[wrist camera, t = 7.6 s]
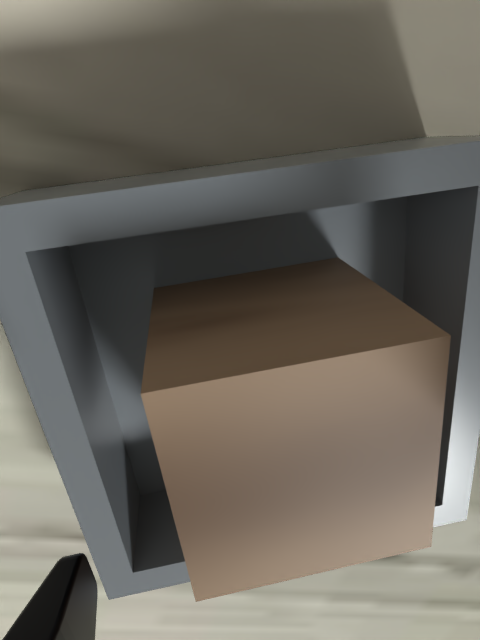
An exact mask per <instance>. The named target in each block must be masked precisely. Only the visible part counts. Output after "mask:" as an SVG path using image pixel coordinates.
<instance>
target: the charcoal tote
mask: <svg viewBox="0 0 480 640" xmlns="http://www.w3.org/2000/svg"><path fill="white" fill-rule="evenodd" d="M332 258H340V259H341V260H343V261H344V262H346V263H347V264H349V265H350V266H351V267H353V268H354V269H356V270H357V271H359V272H360V273H362V274H363V275H364V276H366V277H367V278H369V279H370V280H372V281H373V282H374V283H376V284H377V285H379V286H380V287H382V288H383V289H385V290H386V291H387V292H389V293H390V294H392V295H393V296H395V297H396V298H398V299H399V300H400V301H402V302H403V303H405V304H406V305H408V306H409V307H411V308H412V309H413V310H415V311H416V312H418V313H419V314H421V315H422V316H424V317H425V318H426V319H428V320H429V321H431V322H432V323H434V324H435V325H437V326H438V327H439V328H441V329H442V330H444V331H445V332H447V333H448V334H450V335H451V339H450V350H449V361H448V372H447V382H446V393H445V404H444V414H443V425H442V436H441V447H440V457H439V468H438V479H437V489H436V500H435V511H434V521H433V527H437V526H441V525H446V524H450V523H455V522H459V521H464V520H467V514H468V507H469V500H470V493H471V487H472V480H473V473H474V467H475V460H476V453H477V447H478V440H479V433H480V136H439V137H422V138H414V139H407V140H399V141H392V142H384V143H377V144H369V145H362V146H354V147H347V148H339V149H332V150H324V151H317V152H310V153H302V154H295V155H287V156H280V157H272V158H265V159H257V160H250V161H242V162H235V163H227V164H220V165H212V166H205V167H197V168H190V169H182V170H175V171H167V172H160V173H152V174H145V175H137V176H130V177H122V178H115V179H107V180H100V181H93V182H85V183H78V184H70V185H63V186H55V187H48V188H40V189H33V190H25V191H21V192H18V193H15V194H12V195H8V196H5V197H2V198H0V320H1V322H2V325H3V328H4V330H5V333H6V335H7V338H8V341H9V343H10V346H11V348H12V351H13V353H14V356H15V359H16V361H17V364H18V366H19V369H20V372H21V374H22V377H23V379H24V382H25V385H26V387H27V390H28V392H29V395H30V397H31V400H32V403H33V405H34V408H35V410H36V413H37V416H38V418H39V421H40V423H41V426H42V429H43V431H44V434H45V436H46V439H47V441H48V444H49V447H50V449H51V452H52V454H53V457H54V460H55V462H56V465H57V467H58V470H59V473H60V475H61V478H62V480H63V483H64V485H65V488H66V491H67V493H68V496H69V498H70V501H71V504H72V506H73V509H74V511H75V514H76V517H77V519H78V522H79V524H80V527H81V529H82V532H83V535H84V537H85V540H86V542H87V545H88V548H89V550H90V553H91V555H92V558H93V561H94V563H95V566H96V568H97V571H98V573H99V576H100V579H101V581H102V584H103V586H104V589H105V592H106V594H107V597H108V599H109V600H110V599H115V598H119V597H123V596H128V595H132V594H137V593H141V592H146V591H150V590H155V589H159V588H164V587H168V586H173V585H177V584H182V583H186V582H191V581H190V578H189V574H188V570H187V566H186V563H185V559H184V555H183V551H182V547H181V544H180V540H179V536H178V532H177V529H176V525H175V521H174V517H173V514H172V510H171V506H170V502H169V499H168V495H167V491H166V487H165V484H164V480H163V476H162V472H161V469H160V465H159V461H158V457H157V454H156V450H155V446H154V442H153V439H152V435H151V431H150V427H149V424H148V420H147V416H146V412H145V409H144V405H143V401H142V397H141V387H142V379H143V371H144V363H145V355H146V347H147V339H148V331H149V323H150V315H151V307H152V299H153V291H154V288H158V287H164V286H170V285H176V284H182V283H188V282H194V281H200V280H206V279H212V278H218V277H224V276H230V275H236V274H242V273H248V272H254V271H260V270H266V269H272V268H278V267H284V266H290V265H296V264H302V263H308V262H314V261H320V260H326V259H332Z"/></svg>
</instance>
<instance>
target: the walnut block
mask: <svg viewBox="0 0 480 640" xmlns="http://www.w3.org/2000/svg"><path fill="white" fill-rule="evenodd" d="M450 339H451V335H450V334H448V333H447V332H445V331H444V330H442V329H441V328H439V327H438V326H437V325H435V324H434V323H432V322H431V321H429V320H428V319H426V318H425V317H424V316H422V315H421V314H419V313H418V312H416V311H415V310H413V309H412V308H411V307H409V306H408V305H406V304H405V303H403V302H402V301H400V300H399V299H398V298H396V297H395V296H393V295H392V294H390V293H389V292H387V291H386V290H385V289H383V288H382V287H380V286H379V285H377V284H376V283H374V282H373V281H372V280H370V279H369V278H367V277H366V276H364V275H363V274H362V273H360V272H359V271H357V270H356V269H354V268H353V267H351V266H350V265H349V264H347V263H346V262H344V261H343V260H341V259H340V258H332V259H326V260H320V261H314V262H308V263H302V264H296V265H290V266H284V267H278V268H272V269H266V270H260V271H254V272H248V273H242V274H236V275H230V276H224V277H218V278H212V279H206V280H200V281H194V282H188V283H182V284H176V285H170V286H164V287H158V288H154V291H153V299H152V307H151V315H150V323H149V331H148V339H147V347H146V355H145V363H144V371H143V379H142V387H141V397H142V401H143V405H144V409H145V412H146V416H147V420H148V424H149V427H150V431H151V435H152V439H153V442H154V446H155V450H156V454H157V457H158V461H159V465H160V469H161V472H162V476H163V480H164V484H165V487H166V491H167V495H168V499H169V502H170V506H171V510H172V514H173V517H174V521H175V525H176V529H177V532H178V536H179V540H180V544H181V547H182V551H183V555H184V559H185V563H186V566H187V570H188V574H189V578H190V581H191V585H192V589H193V593H194V596H195V600H196V602H197V601H201V600H205V599H210V598H214V597H218V596H223V595H227V594H231V593H235V592H240V591H244V590H248V589H252V588H257V587H261V586H265V585H270V584H274V583H278V582H282V581H287V580H291V579H295V578H300V577H304V576H308V575H312V574H317V573H321V572H325V571H329V570H334V569H338V568H342V567H347V566H351V565H355V564H359V563H364V562H368V561H372V560H377V559H381V558H385V557H389V556H394V555H398V554H402V553H406V552H411V551H415V550H419V549H424V548H428V547H431V543H432V532H433V521H434V511H435V500H436V489H437V479H438V468H439V457H440V447H441V436H442V425H443V414H444V404H445V393H446V382H447V372H448V361H449V350H450Z"/></svg>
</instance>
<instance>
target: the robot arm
mask: <svg viewBox="0 0 480 640" xmlns="http://www.w3.org/2000/svg"><path fill="white" fill-rule="evenodd" d="M96 610H97V584H96V580H95V577H94V575H93V572H92V570H91V567H90V565H89V562H88V560H87V557H86V556H85V555H84V554H83V553H79V554H74V555H70V556H65V557H62V558H61V559H60V560H59V561H58V562H57V563H56V564H55V566H54V567H53V569H52V570H51V571H50V573H49V574H48V576H47V577H46V579H45V580H44V581H43V583H42V584H41V586H40V587H39V588H38V590H37V591H36V593H35V594H34V596H33V597H32V598H31V600H30V601H29V603H28V604H27V605H26V607H25V608H24V610H23V611H22V613H21V614H20V615H19V617H18V618H17V620H16V621H15V622H14V624H13V625H12V627H11V628H10V630H9V631H8V632H7V634H6V635H5V637H4V638H3V639H2V640H95V628H96Z"/></svg>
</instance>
